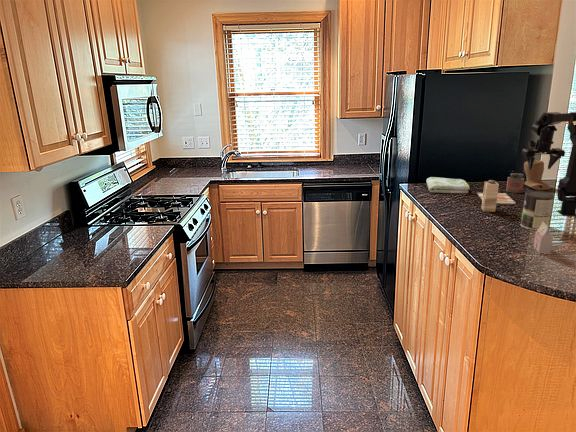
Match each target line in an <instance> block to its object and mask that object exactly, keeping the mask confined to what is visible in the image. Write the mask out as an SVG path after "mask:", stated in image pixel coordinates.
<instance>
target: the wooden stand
mask: <svg viewBox="0 0 576 432" xmlns="http://www.w3.org/2000/svg"><path fill="white" fill-rule="evenodd" d="M523 170H524V174H525V176H526V180H525V181H524V183H523V184H524V185H526V187H529V188H530V189H533V190H535V191H545V190H546V191H547V190H550V189H551V188H552V187H551V186H550V185H549V184H547V183H545V182H543V181H542V178H543V174H544V171H545V163H544V161H543V160H537V159H536V160H535V159H534V162H533V166H532V169H531V170H530V169H529V165H528V161H527V160H526V161H525V162H524V163H523Z"/></svg>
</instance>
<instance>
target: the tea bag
mask: <svg viewBox="0 0 576 432" xmlns="http://www.w3.org/2000/svg"><path fill="white" fill-rule="evenodd" d="M550 230H551V229H550V227H549V225H548V226H547V225H546V224H545V223H544V222H542V223H541V225H540V227H539V228H538V229H537V231H536V230H535V233H534V240H533V246H532V248H533V249H534V248H535V249H536V250H537V251H538V253H548V254H550V255H551V252H552V246H553V240H554V239H553V236H552V233H551V231H550ZM535 249H534V250H535ZM536 250H535V251H536ZM537 251H536V252H537ZM538 253H537V254H538Z"/></svg>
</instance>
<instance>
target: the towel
mask: <svg viewBox="0 0 576 432" xmlns="http://www.w3.org/2000/svg"><path fill="white" fill-rule="evenodd" d="M425 180H426V186H427V189H428V191H429V192H430V193H437V194H439V193H440V194H469V190H471V188H470V187H471V186H470V185H469V184H468V183H467V181H466V180H464V179H462V178H448V177H447V178H446V177H436V176H430V177H428V178H426V179H425Z"/></svg>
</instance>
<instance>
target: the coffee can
mask: <svg viewBox="0 0 576 432" xmlns="http://www.w3.org/2000/svg"><path fill="white" fill-rule="evenodd" d="M554 198H555V195H554V194H553V193H551V192H549V191H548V192H547V191H544V190H529V191H528V190H527V191H525V193H524V201H523V208H522V214H521V221H520V227H522V228H523V227H524V229H527V230H529V229H530V231H536V230H537V229H538V228H539V227H540V225H541V223H542V222H544V223H545V224H546V225H547V226H548V227H549V224H550V218H551V214H552V207H553V203H554Z"/></svg>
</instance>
